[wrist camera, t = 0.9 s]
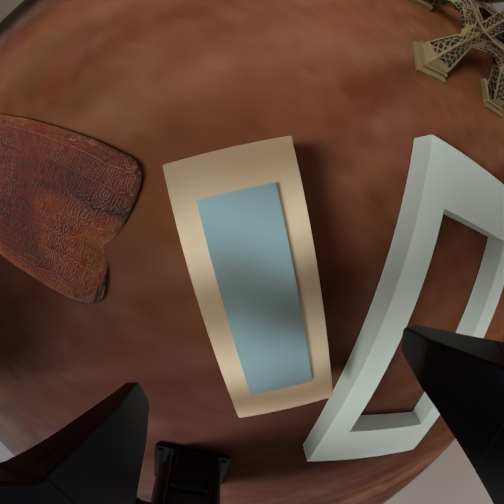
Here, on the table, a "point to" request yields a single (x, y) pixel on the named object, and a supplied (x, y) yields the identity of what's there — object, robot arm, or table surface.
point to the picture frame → (254, 272)
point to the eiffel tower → (467, 46)
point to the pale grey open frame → (413, 301)
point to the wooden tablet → (62, 204)
